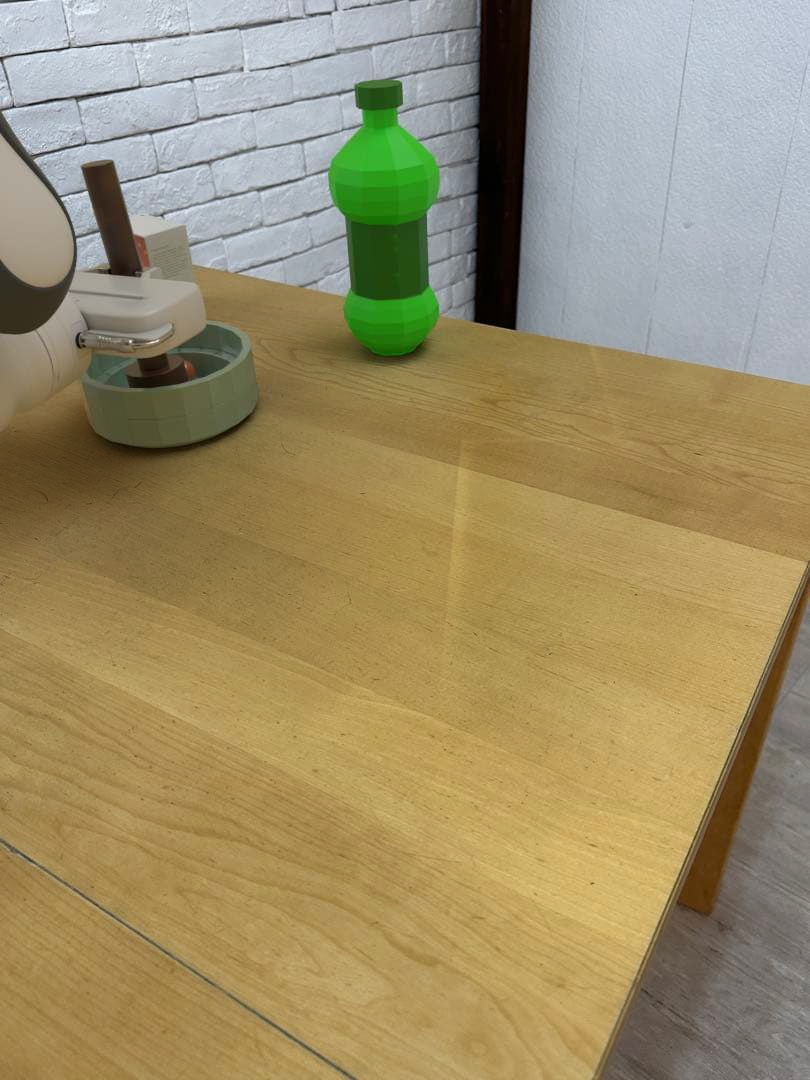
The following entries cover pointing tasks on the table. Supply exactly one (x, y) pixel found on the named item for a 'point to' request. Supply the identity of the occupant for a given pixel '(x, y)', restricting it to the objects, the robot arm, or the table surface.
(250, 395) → the bowl
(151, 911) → the table surface
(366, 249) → the plastic bottle
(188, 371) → the bead
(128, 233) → the pestle
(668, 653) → the table surface
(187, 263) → the small box
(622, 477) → the table surface
